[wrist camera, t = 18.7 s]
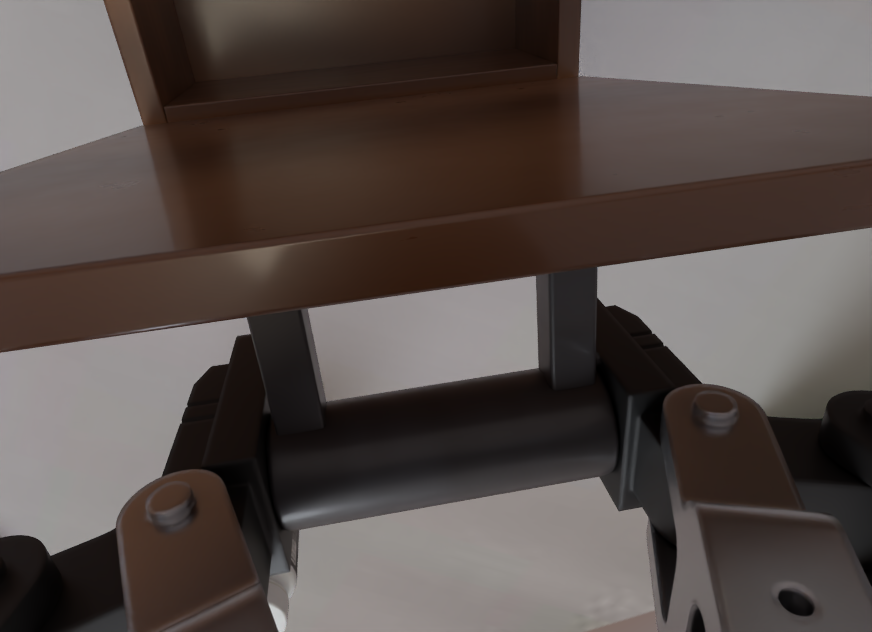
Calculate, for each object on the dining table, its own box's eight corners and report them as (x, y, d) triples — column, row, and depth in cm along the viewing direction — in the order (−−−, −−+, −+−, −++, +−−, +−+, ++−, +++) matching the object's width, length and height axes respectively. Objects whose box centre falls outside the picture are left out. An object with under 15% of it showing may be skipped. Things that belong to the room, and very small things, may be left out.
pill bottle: (266, 537, 39) (251, 665, 31) (206, 504, 36) (176, 634, 29) (317, 496, 38) (314, 619, 30) (258, 460, 35) (239, 583, 28)
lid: (-538, 347, 4) (-186, 753, 7) (1190, 118, 6) (1029, 514, 8) (138, 126, 19) (181, 271, 21) (582, 75, 21) (582, 217, 23)
